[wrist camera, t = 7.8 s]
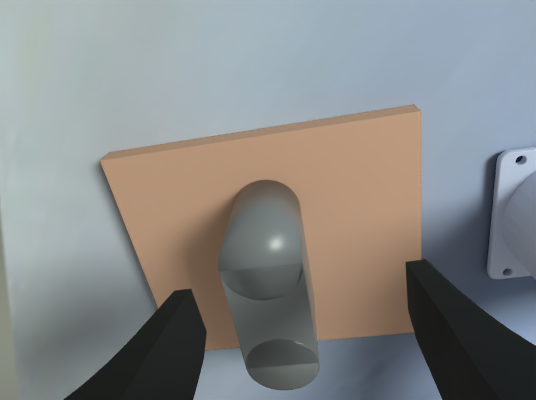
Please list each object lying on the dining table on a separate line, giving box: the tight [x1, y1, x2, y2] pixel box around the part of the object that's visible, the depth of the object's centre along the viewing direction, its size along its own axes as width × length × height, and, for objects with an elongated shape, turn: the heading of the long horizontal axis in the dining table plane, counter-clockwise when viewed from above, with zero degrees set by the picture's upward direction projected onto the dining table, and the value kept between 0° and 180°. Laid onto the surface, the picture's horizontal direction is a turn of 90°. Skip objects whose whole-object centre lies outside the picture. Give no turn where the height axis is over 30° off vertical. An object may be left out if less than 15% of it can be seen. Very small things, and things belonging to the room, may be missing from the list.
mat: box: [100, 105, 421, 350], centre depth 23 cm, size 16×14×1 cm
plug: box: [218, 180, 319, 390], centre depth 20 cm, size 4×11×5 cm, turn 10°
